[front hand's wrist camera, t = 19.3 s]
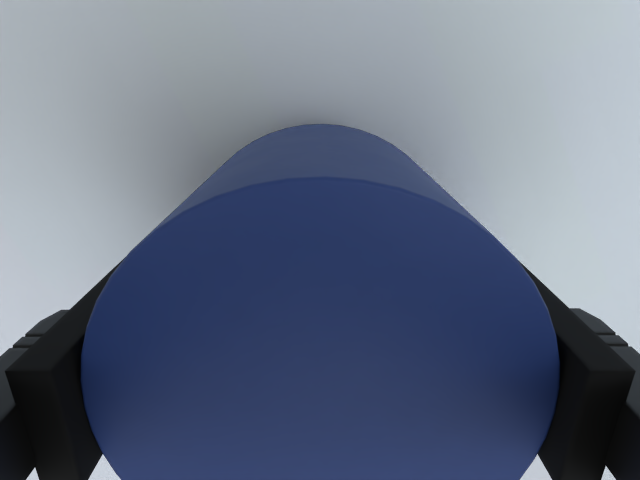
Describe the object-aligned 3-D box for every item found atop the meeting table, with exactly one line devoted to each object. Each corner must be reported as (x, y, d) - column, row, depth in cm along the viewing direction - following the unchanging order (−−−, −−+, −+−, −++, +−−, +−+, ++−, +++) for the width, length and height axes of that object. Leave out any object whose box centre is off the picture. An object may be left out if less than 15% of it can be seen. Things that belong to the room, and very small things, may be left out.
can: (151, 293, 16) (15, 470, 9) (269, 66, 13) (209, 57, 6) (357, 395, 17) (383, 612, 10) (501, 213, 15) (669, 342, 8)
